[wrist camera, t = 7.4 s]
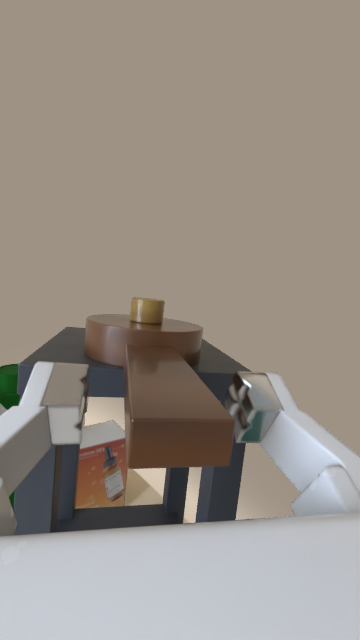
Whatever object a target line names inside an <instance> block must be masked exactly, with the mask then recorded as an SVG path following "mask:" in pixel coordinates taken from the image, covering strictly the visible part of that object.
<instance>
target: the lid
mask: <svg viewBox="0 0 360 640" xmlns="http://www.w3.org/2000/svg"><path fill="white" fill-rule="evenodd" d="M164 304H165V303H164V301H163V300H157V299H148V298H136V297H135V298H134V297H133V298H132V301H131V314H130V315H119V314H103V315H92V316H89V317H87V319H86V330H85V344H84V353H85V354H86V355H87V356H88V357H89V358H91V359H93V360H96V361H99V362H102V363H105V364H110V365H114V366H119V367H123V372H124V404H125V405H124V406H125V440H126V466H127V468H129V469H139V468H179V467H218V466H229V465H230V461H231V453H232V446H233V438H234V430H235V419H234V418H233V417H232V416H231V415H230V413H229V412H228V411H227V410H226V409H225V407H224V406H223V405H222V404H221V403H220V401H219V400H218V399H217V398H216V397H215V396H214V394H213V393H212V392H211V391H210V390H209V388H208V387H207V386H206V385H205V384H204V383H203V381H202V380H201V379H200V378H199V377H198V375H197V374H196V373H195V372H194V371H193V369H192V368H191V367H190V366H193V365H195V364H197V363H198V362H199V360H200V351H201V342H202V334H203V328H202V327H201V326H199V325H196V324H192V323H188V322H183V321H178V320H173V319H166V318H163V313H164Z"/></svg>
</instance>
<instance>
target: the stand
mask: <svg viewBox="0 0 360 640" xmlns="http://www.w3.org/2000/svg"><path fill="white" fill-rule="evenodd" d="M85 330H86V328H75V327H66V328H65V329H63V330H62V331H61V332H60V333H58V334H57V335H56V336H54V337H53V338H52V339H51V340H49V341H48V342H47V343H46V344H44V345H43V346H42V347H41V348H39V349H38V350H36V351H35V352H34V353H33V354H31V355H30V356H29V357H28V358H26V359H25V360H24V361H22V362H21V363H20V364H19V365H18V384H17V394H18V395H20V401H21V399H22V396H23V394H24V391H25V388H26V386H27V383H28V381H29V378H30V376H31V373H32V371H33V368H34V365H35V364H36V363H37V362H38V361H43V362H61V363H75V364H89V370H90V373H89V379H88V382H89V397H124V372H123V367H119V366H114V365H110V364H105V363H102V362H99V361H96V360H93V359H91V358H89V357H88V356H87V355H86V354H85V353H84V344H85ZM190 367H191V368H192V369H193V371H194V372H195V373H196V374H197V375H198V377H199V378H200V379H201V380H202V381H203V383H204V384H205V385H206V386H207V387H208V388H209V390H210V391H211V392H212V393H213V394H214V396H215V397H216V398H217V399H218V400H219V401H220V403H221V404H222V405H223V406H224V407H225V409H226V403H225V399H226V392H227V390H228V387H229V386H231V385H232V384H234V383H233V380H232V378H233V376H234V374H235V373H236V372H237V371H245V372H252V371H250V370H249V369H247V368H245V367H244V366H242V365H241V364H240V363H238V362H236V361H235V360H234V359H232V358H230V357H229V356H227V355H226V354H225V353H223V352H221V351H220V350H219V349H217V348H215V347H214V346H212V345H211V344H209V343H208V342H206V341H205V340H203V339H202V342H201V351H200V360H199V362H198V363H197V364H195V365H193V366H190ZM19 404H20V402H19ZM226 410H227V409H226ZM245 444H246V443H236V439H235V436H234V438H233V446H232V453H231V461H230V465H229V466H218V467H202V473H201V481H200V489H199V497H198V505H197V513H196V522H195V523H201V522H216V521H230V520H235V518H236V511H237V504H238V496H239V489H240V482H241V473H242V467H243V459H244V452H245ZM79 455H80V444H68V445H51V448H50V449H49V450H48V451H47V452H46V454H45V455H44V456H43V457H42V458H41V460H40V461H39V462H38V463H37V464H36V465H35V467H34V468H33V469H32V470H31V471H30V473H29V474H28V475H27V476H26V477H25V478H24V480H23V481H22V482H21V483H20V484H19V486H18V487H17V488H16V489H15V499H14V515H15V518H16V521H17V526H16V529H15V533H14V535H26V534H41V533H56V532H70V531H85V530H99V529H114V528H128V527H143V526H157V525H172V524H183V517H184V508H185V500H186V491H187V482H188V474H189V467H179V468H166V476H165V486H164V495H163V504H156V505H137V506H118V507H99V508H80V509H75V508H76V495H77V481H78V468H79Z"/></svg>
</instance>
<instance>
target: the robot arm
mask: <svg viewBox="0 0 360 640" xmlns="http://www.w3.org/2000/svg"><path fill="white" fill-rule="evenodd" d="M89 373H90V370H89V364H75V363H61V362H43V361H38V362H37V363H36V364H35V365H34V368H33V371H32V373H31V376H30V378H29V381H28V383H27V386H26V388H25V391H24V394H23V396H22V399H21V401H20V404H19V406H12V407H11V408H10V409H9V410H7V411H6V412H5V413H3V414H2V415H1V416H0V640H360V456H359V455H358V454H356V453H355V452H354V451H353V450H351V449H350V448H349V447H348V446H346V445H345V444H344V443H343V442H341V441H340V440H339V439H338V438H336V437H335V436H334V435H333V434H331V433H330V432H329V431H328V430H326V429H325V428H324V427H323V426H321V425H320V424H319V423H317V422H316V421H315V420H314V419H313V418H311V417H310V416H309V415H307V414H306V413H305V412H304V411H299V409H298V408H297V406H296V404H295V402H294V400H293V398H292V397H291V394H290V393H289V391H288V389H287V387H286V385H285V383H284V382H283V380H282V378H281V376H280V375H279V374H278V373H271V372H270V373H269V372H245V371H237V372H236V373H235V374H234V376H233V378H232V380H233V383H234V384H232V385H231V386H229V387H228V390H227V392H226V399H225V403H226V409H227V411H228V412H229V413H230V415H231V416H232V417H233V418H234V419H235V430H234V436H235V439H236V443H260V446H261V447H262V448H263V449H264V450H265V451H266V452H267V454H268V455H269V456H270V457H271V459H272V460H273V461H274V462H275V463H276V464H277V466H278V467H279V468H280V469H281V470H282V471H283V472H284V474H285V475H286V476H287V477H288V478H289V480H290V481H291V482H292V483H293V484H294V485H295V487H296V488H297V489H298V490H299V491H300V493H301V494H300V495H299V496H298V497H297V498H296V499H295V500H294V501H293V502H292V504H291V509H292V512H293V514H294V516H289V517H274V518H260V519H246V520H230V521H216V522H201V523H187V524H172V525H157V526H143V527H128V528H114V529H99V530H85V531H70V532H56V533H41V534H26V535H14V533H15V529H16V526H17V521H16V518H15V515H14V512H13V509H12V506H11V503H10V500H9V496H10V495H11V494H12V493H13V491H14V490H15V489H16V488H17V487H18V486H19V484H20V483H21V482H22V481H23V480H24V478H25V477H26V476H27V475H28V474H29V473H30V471H31V470H32V469H33V468H34V467H35V465H36V464H37V463H38V462H39V461H40V460H41V458H42V457H43V456H44V455H45V454H46V452H47V451H48V450H49V449H50V448H51V445H68V444H81V442H82V436H83V430H84V424H85V413H86V411H87V405H88V397H89V382H88V379H89Z"/></svg>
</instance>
